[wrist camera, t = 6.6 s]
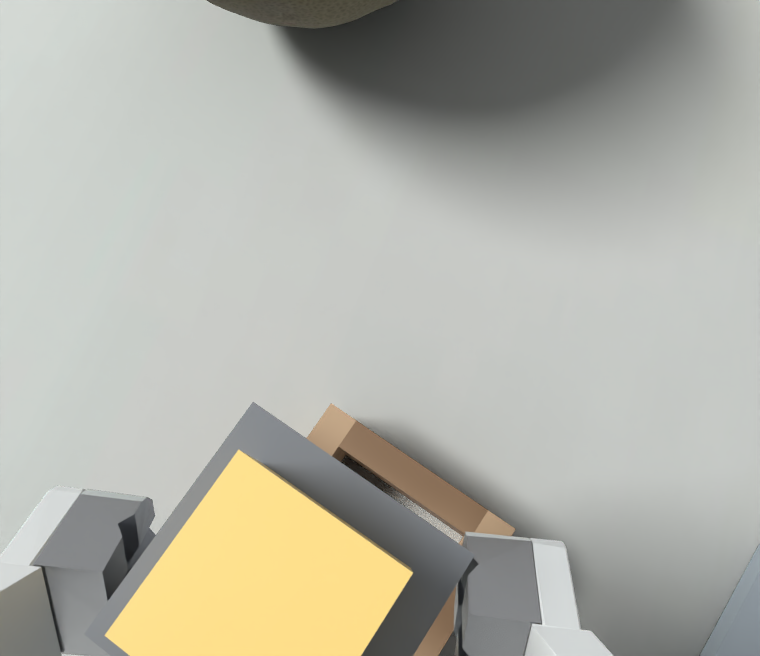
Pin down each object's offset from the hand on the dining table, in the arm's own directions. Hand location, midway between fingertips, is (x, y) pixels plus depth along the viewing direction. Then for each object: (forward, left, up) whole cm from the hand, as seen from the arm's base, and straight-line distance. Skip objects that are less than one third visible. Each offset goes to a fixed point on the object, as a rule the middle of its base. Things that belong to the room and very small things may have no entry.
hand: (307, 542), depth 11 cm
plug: (-1, 0, -5) cm, 5 cm away
